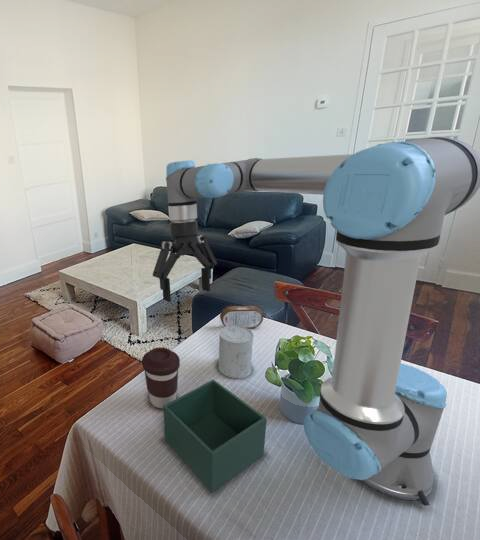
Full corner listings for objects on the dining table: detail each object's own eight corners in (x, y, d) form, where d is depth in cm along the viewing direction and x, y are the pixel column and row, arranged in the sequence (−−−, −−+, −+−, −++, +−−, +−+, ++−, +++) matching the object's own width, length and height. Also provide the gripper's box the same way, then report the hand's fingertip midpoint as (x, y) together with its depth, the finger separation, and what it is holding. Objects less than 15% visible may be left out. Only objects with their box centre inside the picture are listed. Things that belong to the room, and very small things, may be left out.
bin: (263, 455, 75) (266, 418, 71) (211, 493, 68) (212, 454, 64) (212, 412, 88) (213, 379, 84) (164, 440, 81) (163, 405, 77)
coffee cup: (139, 394, 96) (135, 349, 91) (169, 383, 99) (168, 340, 94) (154, 417, 88) (151, 370, 82) (187, 405, 91) (186, 359, 85)
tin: (261, 324, 125) (262, 304, 122) (263, 329, 122) (265, 308, 119) (219, 325, 127) (219, 305, 124) (221, 330, 124) (221, 309, 121)
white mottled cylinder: (254, 363, 105) (256, 329, 100) (247, 381, 97) (249, 345, 93) (223, 355, 110) (224, 322, 105) (214, 372, 102) (214, 338, 98)
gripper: (210, 215, 99) (212, 283, 104) (136, 226, 90) (142, 301, 94) (228, 215, 93) (230, 289, 98) (150, 227, 83) (156, 308, 88)
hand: (187, 295), depth 96 cm, fingers open, 13 cm apart
